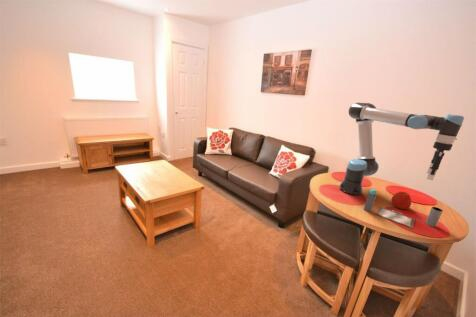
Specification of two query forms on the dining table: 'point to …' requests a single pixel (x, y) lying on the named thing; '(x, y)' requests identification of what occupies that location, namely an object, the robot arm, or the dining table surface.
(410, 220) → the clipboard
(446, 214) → the dining table surface
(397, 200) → the apple
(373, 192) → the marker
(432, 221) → the grey hollow cylinder
